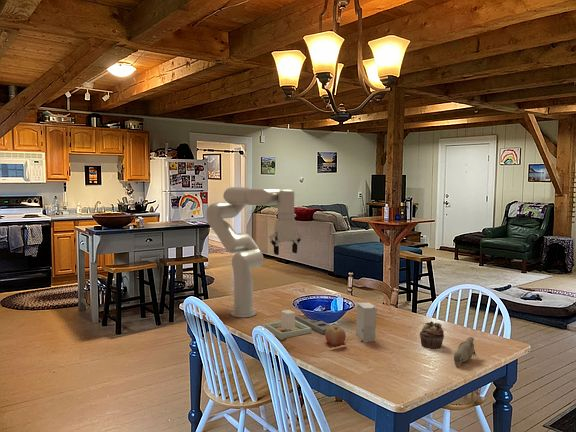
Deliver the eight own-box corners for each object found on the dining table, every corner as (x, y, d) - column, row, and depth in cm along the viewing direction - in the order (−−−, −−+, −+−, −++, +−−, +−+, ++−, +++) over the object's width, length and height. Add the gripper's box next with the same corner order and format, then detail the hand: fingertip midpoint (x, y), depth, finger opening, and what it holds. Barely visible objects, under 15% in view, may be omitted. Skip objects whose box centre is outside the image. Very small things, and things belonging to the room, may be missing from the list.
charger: (281, 330, 211) (281, 311, 210) (288, 329, 213) (289, 309, 212) (287, 333, 207) (287, 313, 206) (294, 332, 209) (295, 312, 208)
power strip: (286, 318, 232) (286, 310, 231) (298, 316, 235) (298, 308, 235) (322, 336, 205) (323, 328, 205) (336, 334, 209) (336, 326, 208)
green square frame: (264, 330, 212) (264, 323, 212) (293, 325, 220) (293, 319, 220) (281, 340, 200) (281, 333, 199) (311, 334, 207) (311, 328, 207)
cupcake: (445, 344, 197) (446, 320, 196) (440, 351, 188) (441, 327, 188) (422, 340, 202) (423, 317, 201) (416, 347, 193) (417, 323, 192)
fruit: (329, 349, 190) (329, 330, 189) (322, 342, 198) (323, 324, 197) (348, 347, 192) (348, 328, 191) (340, 341, 200) (341, 322, 199)
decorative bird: (449, 366, 175) (449, 346, 174) (464, 353, 187) (464, 335, 187) (463, 369, 171) (464, 349, 171) (478, 357, 184) (478, 338, 183)
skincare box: (355, 336, 206) (356, 302, 205) (368, 335, 208) (369, 301, 206) (362, 342, 198) (363, 307, 197) (376, 341, 200) (377, 306, 198)
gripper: (297, 215, 225) (297, 251, 227) (265, 216, 216) (265, 253, 218) (306, 216, 219) (305, 253, 220) (273, 218, 210) (273, 256, 211)
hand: (285, 253), depth 219 cm, fingers open, 9 cm apart
